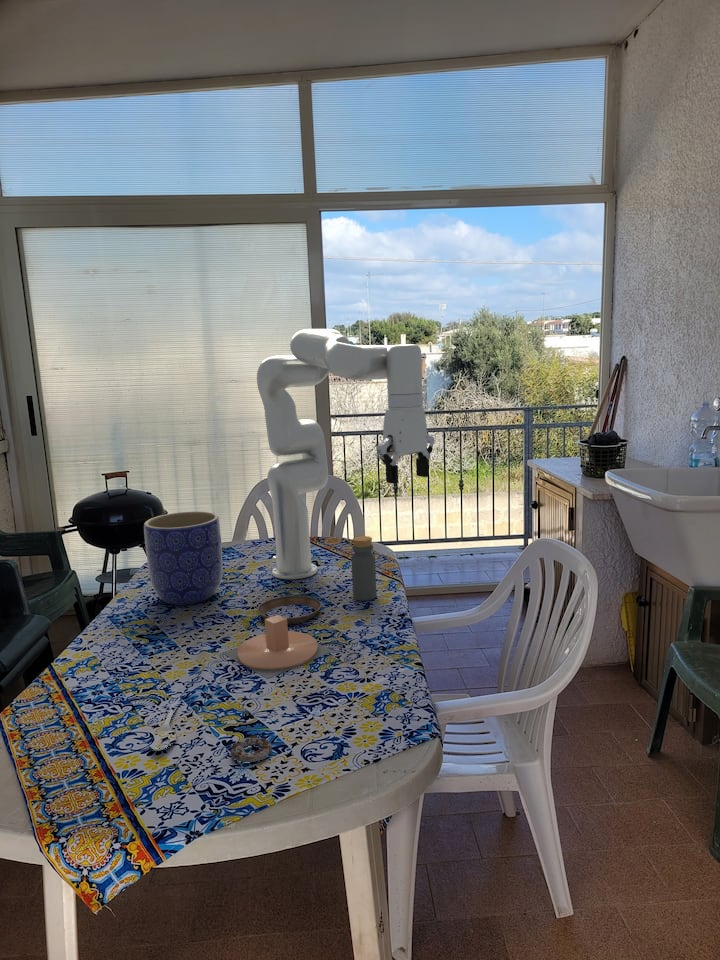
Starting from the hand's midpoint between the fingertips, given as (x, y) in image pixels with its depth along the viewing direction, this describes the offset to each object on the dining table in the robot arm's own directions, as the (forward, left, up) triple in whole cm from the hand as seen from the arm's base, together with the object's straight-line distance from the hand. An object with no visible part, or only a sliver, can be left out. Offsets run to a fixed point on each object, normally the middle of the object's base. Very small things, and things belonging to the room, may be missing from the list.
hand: (407, 479), depth 145 cm
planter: (-50, -30, -31) cm, 66 cm away
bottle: (-16, 0, -31) cm, 35 cm away
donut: (+20, -57, -32) cm, 68 cm away
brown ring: (-20, -20, -32) cm, 42 cm away
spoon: (+2, -61, -32) cm, 69 cm away
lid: (-5, -34, -31) cm, 46 cm away
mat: (-5, -34, -31) cm, 46 cm away
